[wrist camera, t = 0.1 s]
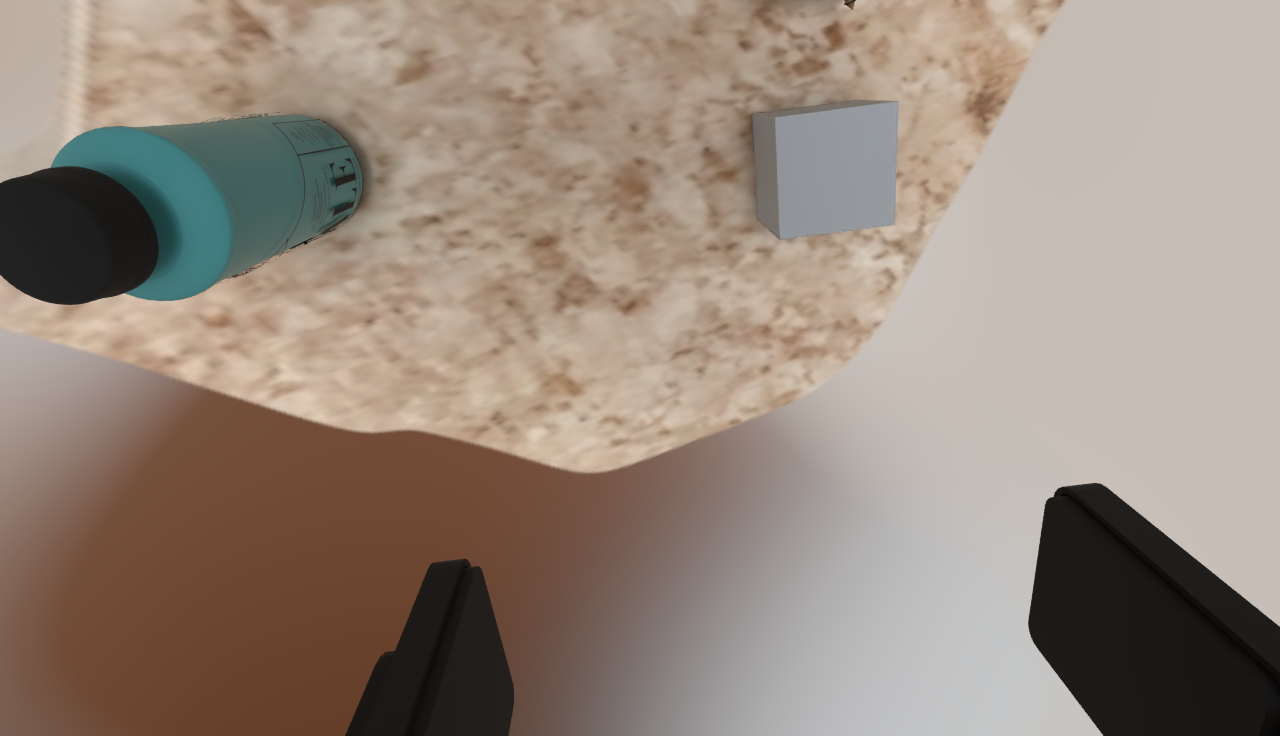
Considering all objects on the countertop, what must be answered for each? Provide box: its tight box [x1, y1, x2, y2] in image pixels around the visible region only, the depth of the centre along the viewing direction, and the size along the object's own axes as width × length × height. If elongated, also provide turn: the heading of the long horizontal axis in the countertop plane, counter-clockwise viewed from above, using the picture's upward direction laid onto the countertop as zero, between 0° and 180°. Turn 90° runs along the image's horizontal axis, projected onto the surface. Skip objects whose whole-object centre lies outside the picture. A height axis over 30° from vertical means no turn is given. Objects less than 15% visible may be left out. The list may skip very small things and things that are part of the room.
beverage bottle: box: [0, 112, 363, 305], centre depth 28 cm, size 6×7×20 cm
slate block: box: [752, 100, 898, 240], centre depth 35 cm, size 6×6×6 cm
